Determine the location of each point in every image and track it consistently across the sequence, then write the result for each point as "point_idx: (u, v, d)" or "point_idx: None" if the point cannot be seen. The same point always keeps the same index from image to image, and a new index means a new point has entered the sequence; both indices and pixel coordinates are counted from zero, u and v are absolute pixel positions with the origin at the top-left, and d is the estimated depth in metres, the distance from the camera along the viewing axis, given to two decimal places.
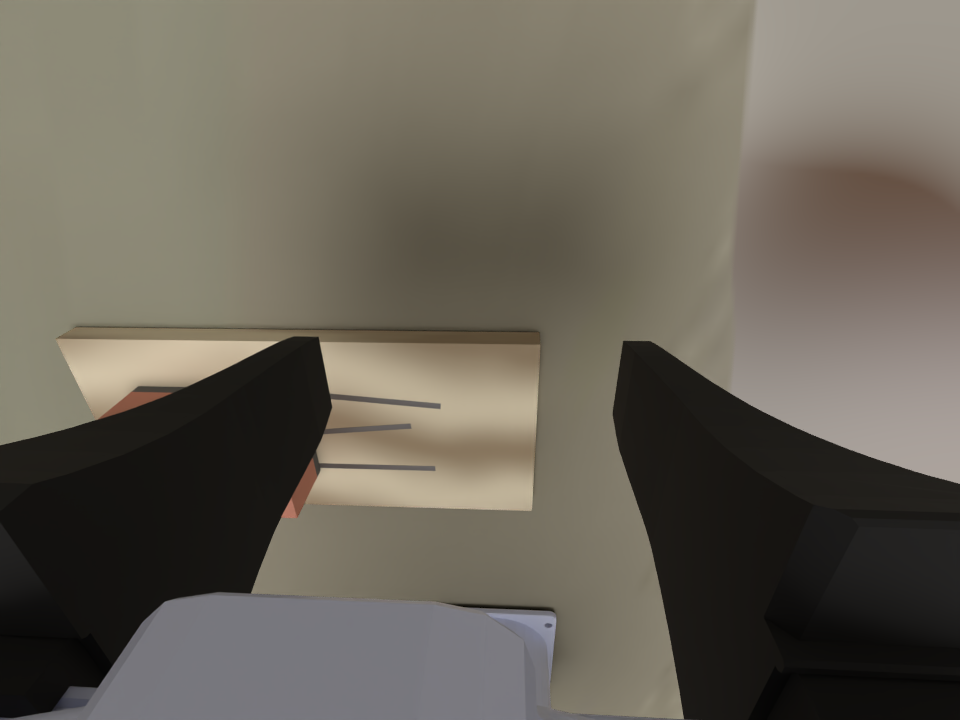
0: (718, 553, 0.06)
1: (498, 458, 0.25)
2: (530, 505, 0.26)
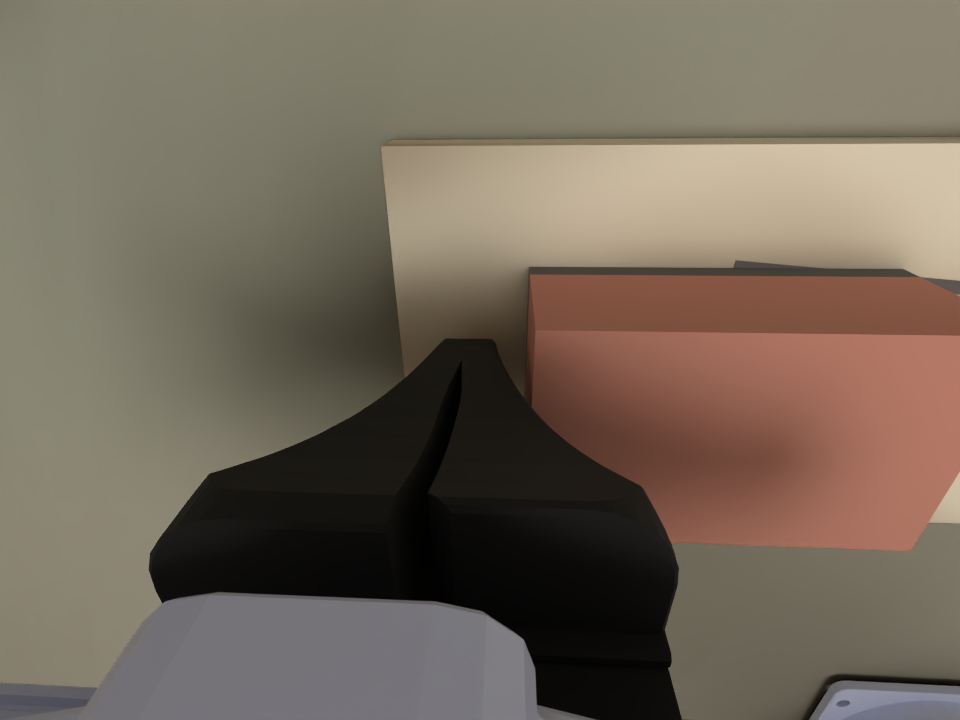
0: None
1: None
2: None
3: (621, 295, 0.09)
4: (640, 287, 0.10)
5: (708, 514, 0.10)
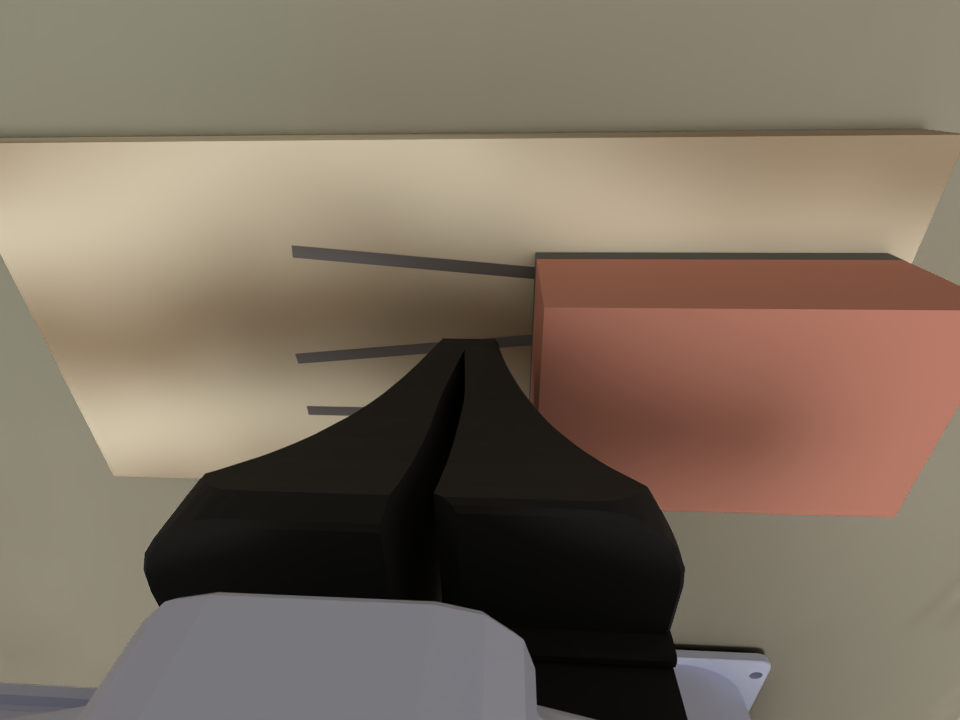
0: None
1: None
2: None
3: (623, 277, 0.10)
4: (641, 270, 0.10)
5: (705, 483, 0.11)
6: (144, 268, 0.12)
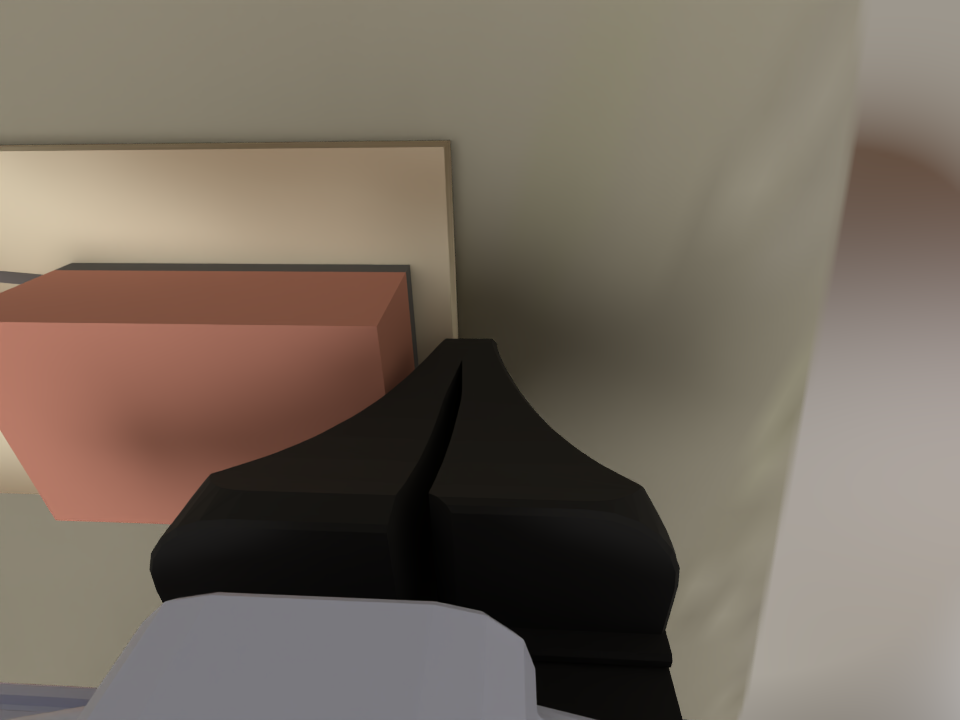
0: None
1: None
2: None
3: (88, 289, 0.10)
4: (125, 282, 0.10)
5: None
6: None
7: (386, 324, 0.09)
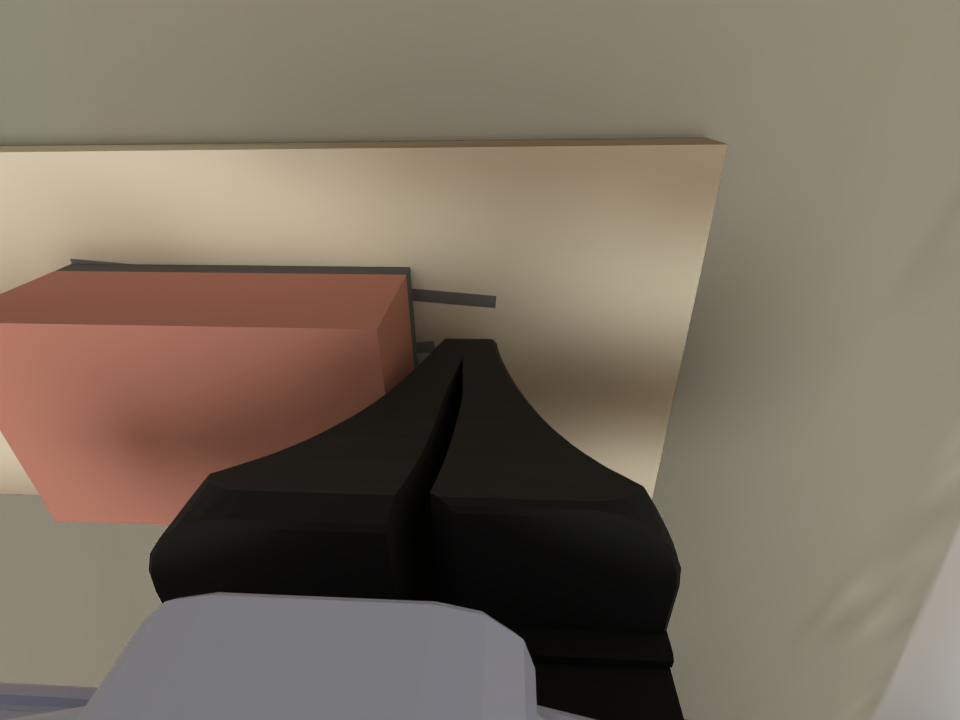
0: None
1: (599, 413, 0.13)
2: None
3: (89, 290, 0.10)
4: (125, 283, 0.10)
5: None
6: None
7: (386, 327, 0.09)
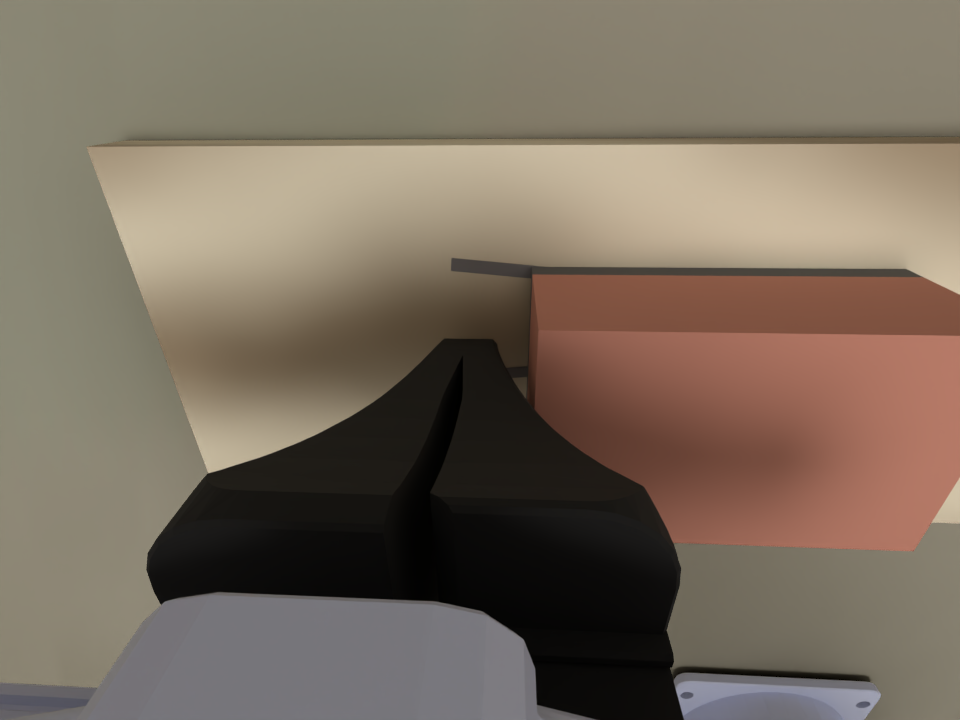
0: None
1: None
2: None
3: (624, 295, 0.09)
4: (643, 287, 0.10)
5: (711, 514, 0.10)
6: (286, 281, 0.11)
7: None
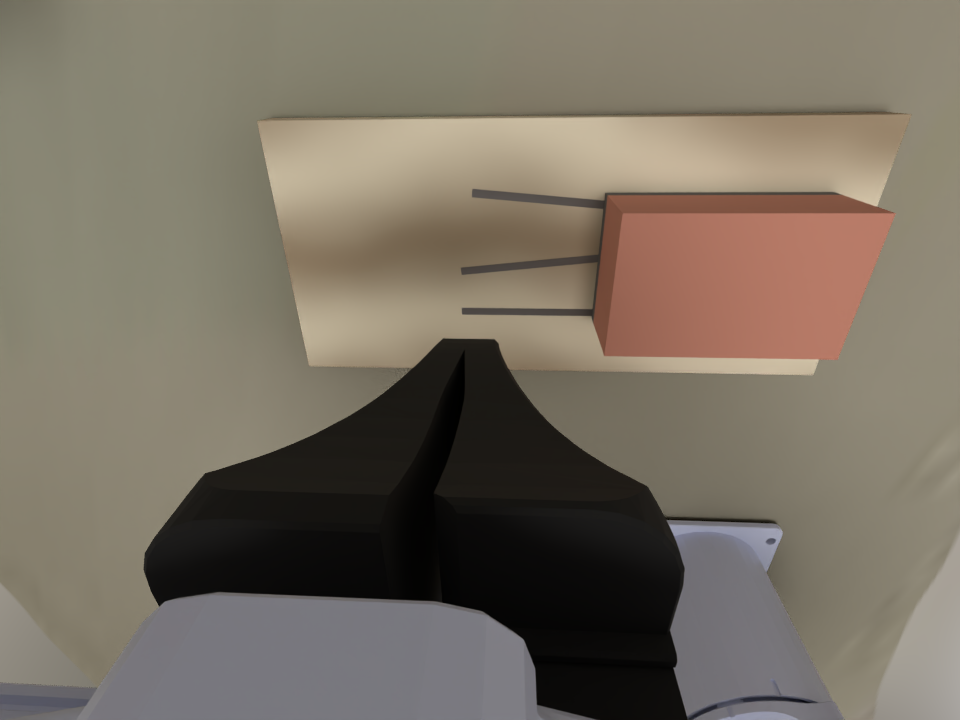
0: None
1: None
2: (813, 367, 0.21)
3: (665, 202, 0.16)
4: (676, 199, 0.17)
5: (715, 335, 0.17)
6: (369, 205, 0.19)
7: None
